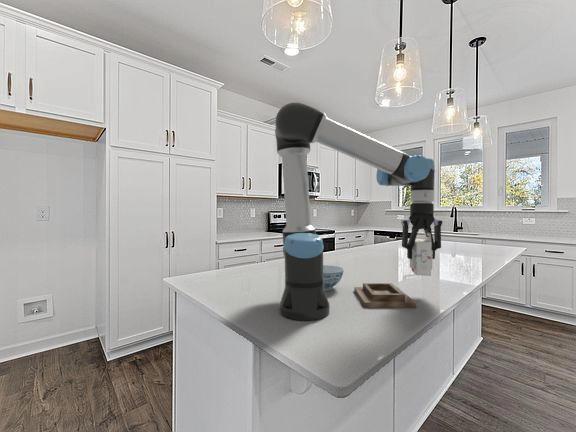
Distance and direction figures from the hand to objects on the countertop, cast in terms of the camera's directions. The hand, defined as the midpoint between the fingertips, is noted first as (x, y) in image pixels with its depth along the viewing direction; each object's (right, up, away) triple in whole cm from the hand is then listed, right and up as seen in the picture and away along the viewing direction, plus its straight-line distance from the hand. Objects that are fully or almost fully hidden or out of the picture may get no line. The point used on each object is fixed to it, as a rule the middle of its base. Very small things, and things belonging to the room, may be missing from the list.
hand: (420, 267), depth 103 cm
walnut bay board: (-15, -10, -3) cm, 18 cm away
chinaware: (-33, -10, +11) cm, 36 cm away
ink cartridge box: (0, -2, 0) cm, 2 cm away
